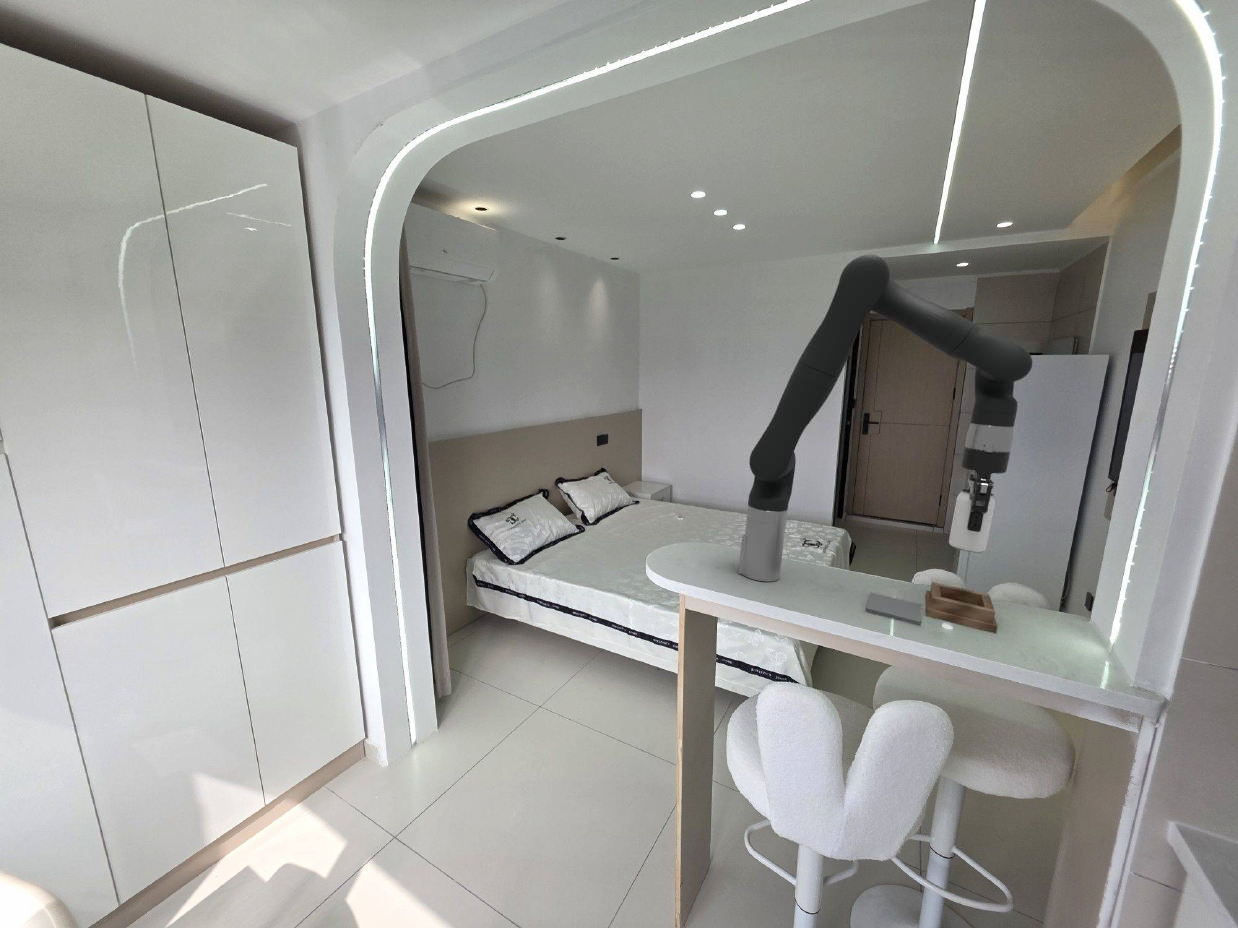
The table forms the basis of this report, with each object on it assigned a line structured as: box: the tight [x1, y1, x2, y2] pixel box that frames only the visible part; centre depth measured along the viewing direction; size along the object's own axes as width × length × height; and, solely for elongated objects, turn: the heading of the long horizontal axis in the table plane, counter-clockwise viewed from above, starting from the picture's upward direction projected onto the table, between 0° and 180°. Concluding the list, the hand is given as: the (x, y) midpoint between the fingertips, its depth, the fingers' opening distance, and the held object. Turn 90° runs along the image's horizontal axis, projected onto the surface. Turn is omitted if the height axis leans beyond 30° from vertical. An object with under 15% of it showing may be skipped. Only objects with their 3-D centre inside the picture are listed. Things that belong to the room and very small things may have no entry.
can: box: [948, 488, 996, 554], centre depth 103 cm, size 6×6×12 cm
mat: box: [865, 591, 922, 627], centre depth 106 cm, size 10×10×1 cm
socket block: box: [924, 581, 998, 634], centre depth 106 cm, size 12×12×4 cm
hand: (971, 526), depth 103 cm, fingers closed on can, 6 cm apart
